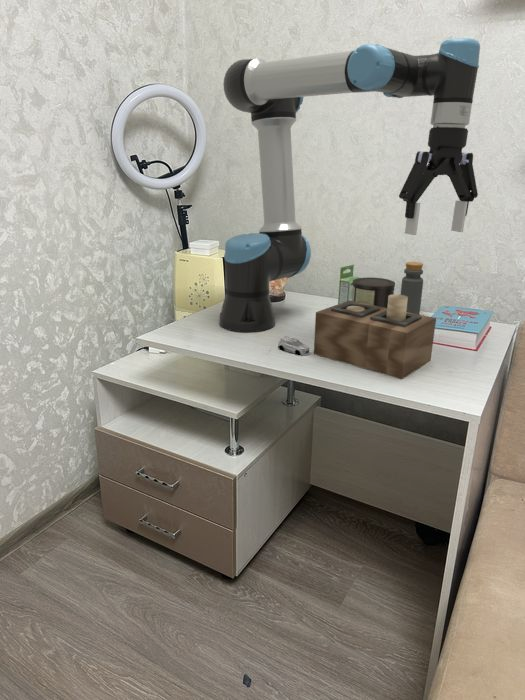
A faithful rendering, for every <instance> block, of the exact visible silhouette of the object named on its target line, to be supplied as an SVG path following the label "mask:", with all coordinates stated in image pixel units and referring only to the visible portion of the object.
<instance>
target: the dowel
mask: <svg viewBox="0 0 525 700" xmlns="http://www.w3.org/2000/svg"><path fill="white" fill-rule="evenodd" d="M407 301H408V297H407V296H405V295H400V294H398V293H397V294H395V293H394V295H389V296H388V306H387V317H386V318H387V319H392V320H396V321H401V322H402V321H404V320H406V310H407Z"/></svg>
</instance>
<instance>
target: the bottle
mask: <svg viewBox="0 0 525 700" xmlns="http://www.w3.org/2000/svg"><path fill="white" fill-rule="evenodd" d="M423 267H424V264H423V262H417V261H407V262H405V268H404V272H403V273H404V274H405V276H403V277H402V279H401V286H400V287H401V288H400V294H399V295H405V296H407V297H408V301H407V310H406V312H409V313H414V314H419V315H421V314H420V313H421V305H422V297H423V287H424V279H423V277H421V275H423V274H424V270H423Z"/></svg>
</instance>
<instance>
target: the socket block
mask: <svg viewBox="0 0 525 700" xmlns="http://www.w3.org/2000/svg"><path fill="white" fill-rule="evenodd" d="M386 317H387V308H384V307H379V306H375V305H370V304H365V303H360V302H355V301H350V300H349V301H346V302H343V303H340V304H338V303H337V304H335V305H332V306H329V307H327V308H324V309H320V310H318V311H315V322H314V323H315V324H314V325H315V326H314V345H313V347H314V348H313V355H316V356H320V357H323V358H327V359H330V360H334V361H337V362H340V363H344V364H347V365H351V366H354V367H358V368H362V369H364V370H365V369H366V370H369V371H372V372H375V373H378V374H383V375H386V376H390V377H393V378H396V379H400V380H403V379H405V378H406V377H409V375H410V374H413V373H414V372H416V371H417V370H419V369H421V368H422V367H423V366H425V365H427V364H428V363H430V362H431V360H432V352H433V348H434V347H433V345H434V338H435V330H436V321H437V317H432V316H427V315H424V314H414V313H409V312H406V320H404V321H402V322H401V321H396V320H392V319H387V318H386Z"/></svg>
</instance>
